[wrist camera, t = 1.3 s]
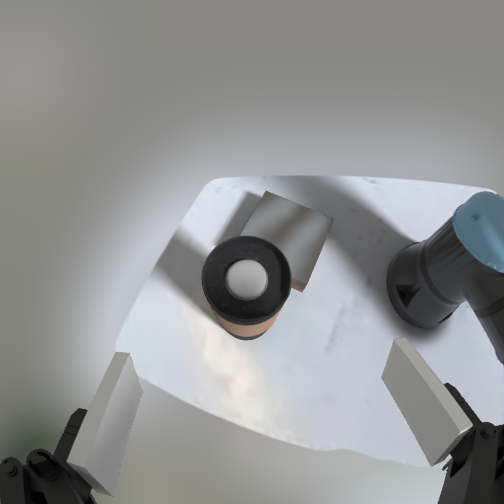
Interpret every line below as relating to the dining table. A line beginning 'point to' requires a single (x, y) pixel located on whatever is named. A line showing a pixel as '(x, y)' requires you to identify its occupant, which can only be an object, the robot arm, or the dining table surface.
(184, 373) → the dining table surface
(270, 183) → the dining table surface
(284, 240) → the walnut stand
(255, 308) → the travel mug
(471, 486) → the robot arm
